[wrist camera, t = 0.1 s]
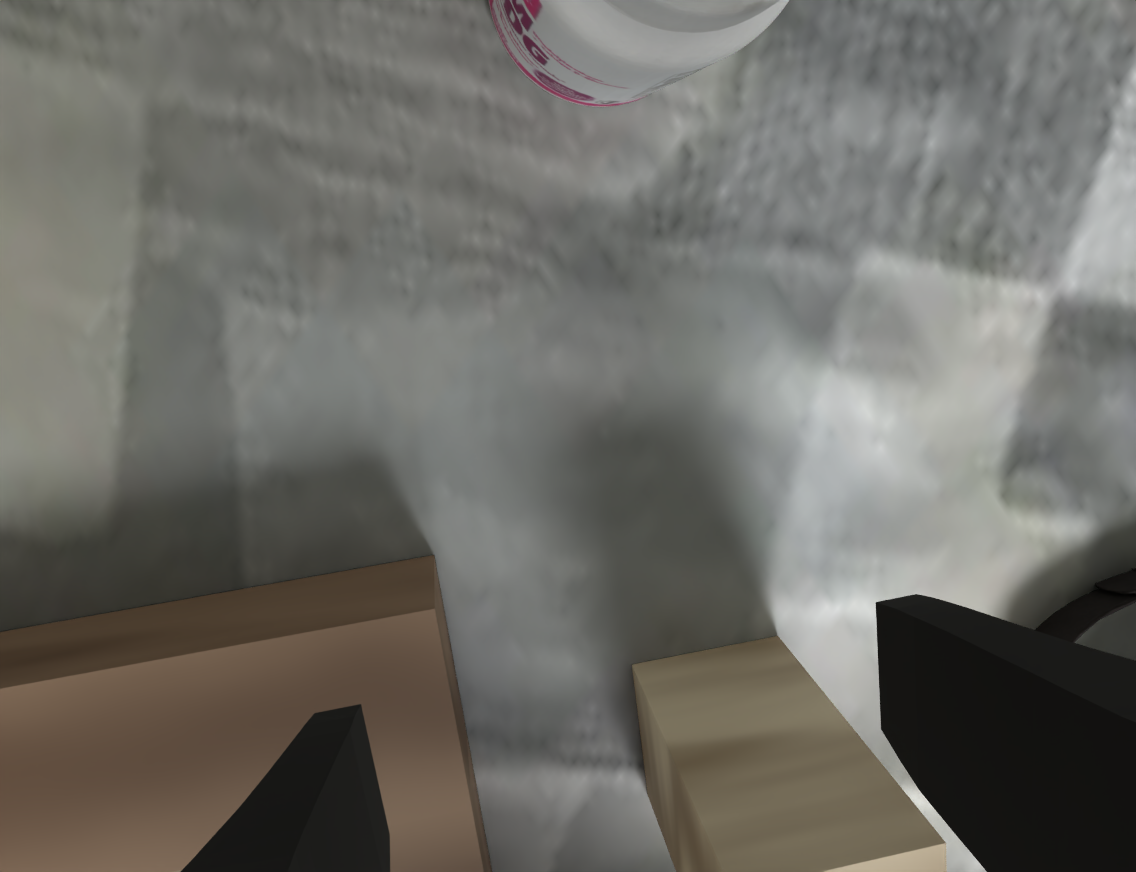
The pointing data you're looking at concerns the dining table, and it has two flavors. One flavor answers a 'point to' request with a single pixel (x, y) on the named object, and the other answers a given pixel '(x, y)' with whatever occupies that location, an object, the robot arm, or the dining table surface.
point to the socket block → (230, 720)
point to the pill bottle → (623, 42)
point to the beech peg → (768, 771)
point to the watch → (1091, 607)
